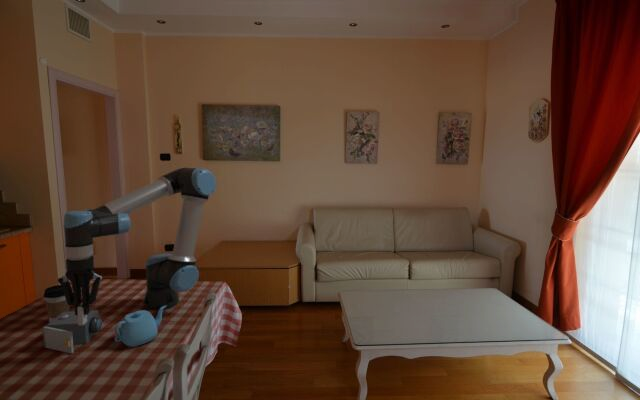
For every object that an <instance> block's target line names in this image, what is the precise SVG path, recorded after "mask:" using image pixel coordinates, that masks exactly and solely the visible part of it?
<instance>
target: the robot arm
mask: <svg viewBox="0 0 640 400" xmlns="http://www.w3.org/2000/svg"><path fill="white" fill-rule="evenodd" d="M216 189H217V179H216V177H215V175H214V174H213V172H211V171H210V170H208V169H206V168H201V167H198V168H197V167H195V168H194V167H181V168H177V169H175V170H173V171H171V172H168V173H165V174H164V175H161V176H159V177H158V178H157V180H156V181H154V182H151V183H149V184H147V185H144V186H142V187H140V188H137V189H136V190H134V191H132V192H130V193H127V194H125V195H123V196H121V197H118V198H116V199H114V200H112V201H110V202H107V203H105V204H103V205H101V206H97V207H96V208H88V209H85V210H72V211H68V212H66V213H65V214H64V215H63V216H64V217H63V231H64V232H63V233H64V244H65V245H64V246H65V248H64V250H65V255H64V256H65V258H66V259H65V269H66V272H65V273H64V274H65V275H62V276H60V278H57V282H58V283H59V285H61V286H62V289H63V292H64V295H65V298H66V301H67V304H68V305H69V306H73V307H74V311H75V315H78V325H84V324H85V323H86V322H87V314H88V313H89V312H90V311H91V309H90V305H92V304H93V303H94V302H96V300H97V296H98V292H99V287H100V283H101V281H102V280H103V278H104V275H102V274H100V275H99V274H97V273H96V270H95V269H94V267H95V262H94V261H95V259H94V238H101V237H107V236H108V237H109V236H113V235H114V236H115V235H121V234H125V233H128V232H129V231H130V230H131V227H132V224H131V223H132V221H131V218H130V214H132V213H134V212H136V211H138V210H141V209H142V208H144V207H146V206H148V205H150V204H153V203H154V202H156V201H158V200H160V199H162V198H164V197H166V196H168V197H172V196H173V195H176V194H180V197H181V199H182V200H183V201H182V202H183V203H182V206H181V211H180V215H179V221H178V226H177V230H176V231H177V232H176V236H175V239H174V246H173V248H172V249H173V250H172V253H161V254H155V255H152V256H149V257H147V258H146V260H145V276H146V291H145V294H144V298H143V301H142V308H143V309H144V310H146V311H152V312H153V311H155V312H156V311H159V309H160V308H161V307H163V306H165V305H167V306H166V307H165V308H164V309H163V311H164V310H168V309H170V308H174V307H175V306H177V305H178V304H179V303H180V295H179V293H178V292H183V293H184V292H187V291H189V290H191V288H193V287H195V285H196V283H197V282H198V280H199V277H200V273H199V270H198V268H197V266H196V264H197V259H196V258H195V256H194V255H195V249H196V245H197V241H198V240H197V239H198V235H199V234H198V233H199V228H200V224H201V220H202V213H203V208H204V204H205V203H207V201H209V197H210V196H211V195H212V194H213V193H214V192H215V191H216ZM90 281H93V283H92V286H91V290H90V283H91V282H90ZM70 282H71V283H70Z"/></svg>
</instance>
